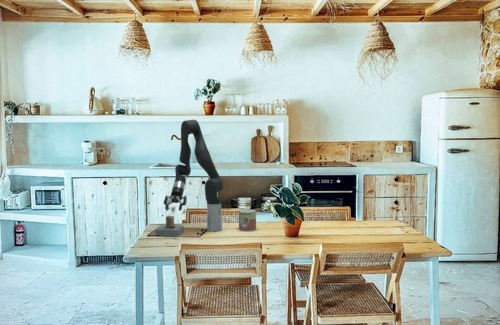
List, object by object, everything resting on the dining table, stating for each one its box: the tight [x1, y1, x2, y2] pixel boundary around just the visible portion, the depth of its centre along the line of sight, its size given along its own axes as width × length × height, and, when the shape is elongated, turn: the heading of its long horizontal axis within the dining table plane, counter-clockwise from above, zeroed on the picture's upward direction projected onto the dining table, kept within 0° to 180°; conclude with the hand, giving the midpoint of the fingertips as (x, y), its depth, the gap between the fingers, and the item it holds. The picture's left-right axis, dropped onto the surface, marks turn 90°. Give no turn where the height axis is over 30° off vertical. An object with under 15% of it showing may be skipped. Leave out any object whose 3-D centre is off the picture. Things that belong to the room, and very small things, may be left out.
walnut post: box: [165, 215, 175, 229], centre depth 276 cm, size 4×4×11 cm
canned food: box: [238, 208, 257, 232], centre depth 286 cm, size 11×11×12 cm
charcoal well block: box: [155, 224, 185, 237], centre depth 276 cm, size 14×12×4 cm
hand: (173, 209), depth 281 cm, fingers open, 8 cm apart
